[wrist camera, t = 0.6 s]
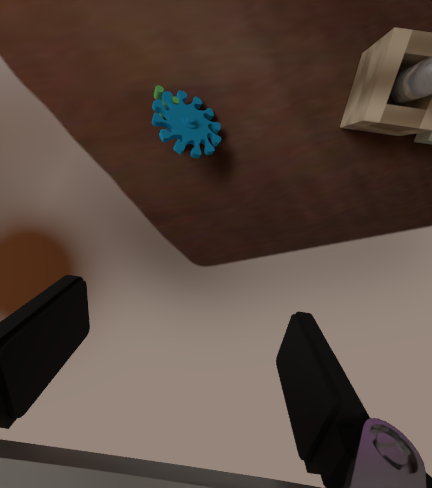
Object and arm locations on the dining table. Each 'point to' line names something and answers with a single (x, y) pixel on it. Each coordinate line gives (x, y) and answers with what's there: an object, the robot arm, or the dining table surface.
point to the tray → (424, 137)
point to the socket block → (389, 86)
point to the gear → (184, 122)
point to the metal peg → (412, 83)
